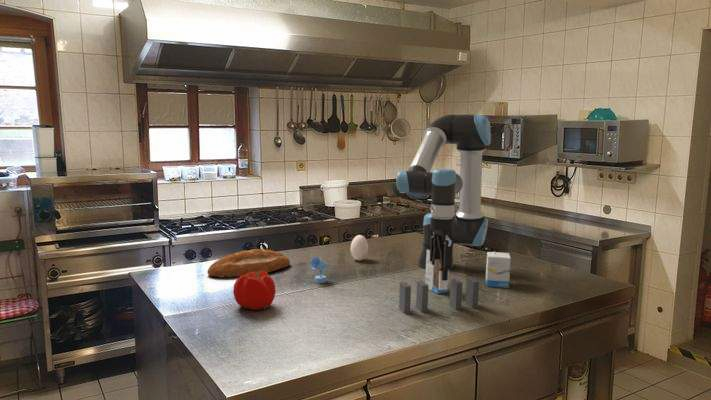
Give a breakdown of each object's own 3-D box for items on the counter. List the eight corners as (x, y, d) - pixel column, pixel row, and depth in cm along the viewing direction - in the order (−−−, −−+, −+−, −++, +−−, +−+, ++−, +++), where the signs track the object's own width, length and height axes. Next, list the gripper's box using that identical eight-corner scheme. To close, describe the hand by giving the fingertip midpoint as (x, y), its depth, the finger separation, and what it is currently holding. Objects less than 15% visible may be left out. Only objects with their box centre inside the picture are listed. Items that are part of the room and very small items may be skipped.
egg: (371, 259, 233) (372, 234, 231) (362, 263, 226) (362, 237, 225) (356, 257, 237) (356, 232, 236) (346, 260, 231) (347, 235, 229)
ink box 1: (448, 292, 190) (450, 253, 187) (437, 294, 187) (439, 254, 185) (435, 285, 197) (437, 247, 195) (424, 287, 195) (425, 249, 193)
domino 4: (465, 303, 178) (466, 277, 177) (470, 302, 179) (472, 277, 178) (472, 308, 174) (473, 282, 172) (477, 307, 174) (479, 281, 173)
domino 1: (399, 308, 172) (399, 282, 171) (404, 308, 173) (405, 281, 172) (404, 313, 168) (405, 286, 166) (410, 313, 168) (410, 286, 167)
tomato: (257, 317, 162) (256, 281, 161) (224, 308, 170) (223, 273, 168) (284, 305, 174) (284, 271, 172) (253, 297, 181) (252, 264, 179)
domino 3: (449, 304, 177) (450, 278, 176) (454, 304, 177) (455, 278, 176) (455, 309, 172) (456, 283, 171) (461, 309, 173) (462, 282, 171)
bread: (201, 272, 211) (200, 250, 210) (281, 260, 230) (281, 241, 229) (214, 283, 196) (214, 260, 195) (299, 270, 215) (299, 249, 214)
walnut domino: (433, 285, 174) (434, 259, 173) (439, 285, 175) (440, 258, 173) (439, 290, 169) (440, 263, 168) (445, 289, 170) (446, 262, 169)
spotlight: (317, 284, 196) (330, 281, 201) (317, 258, 195) (331, 255, 199) (308, 281, 200) (322, 278, 204) (308, 256, 198) (322, 253, 203)
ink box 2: (509, 288, 196) (511, 257, 194) (486, 286, 197) (487, 256, 196) (507, 281, 204) (509, 252, 202) (485, 279, 206) (486, 251, 204)
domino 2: (416, 307, 174) (417, 281, 173) (421, 306, 174) (422, 280, 173) (421, 312, 169) (422, 285, 168) (427, 312, 170) (428, 285, 168)
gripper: (421, 212, 176) (418, 279, 180) (443, 222, 159) (439, 296, 162) (441, 212, 178) (438, 278, 182) (465, 221, 161) (462, 294, 164)
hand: (439, 286), depth 172 cm, fingers closed on walnut domino, 5 cm apart
